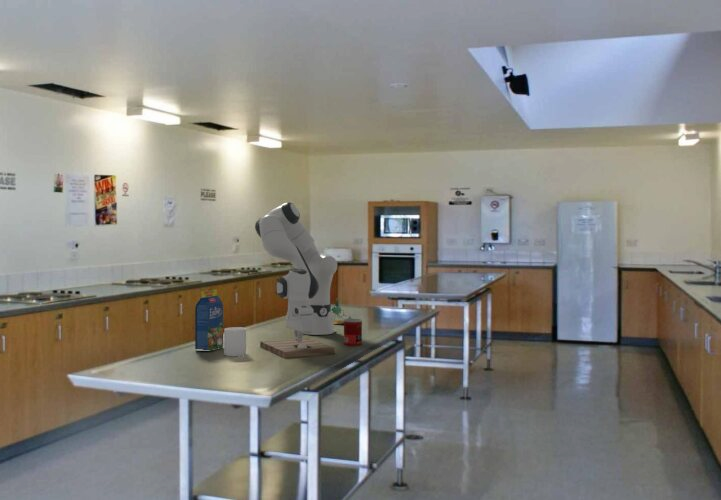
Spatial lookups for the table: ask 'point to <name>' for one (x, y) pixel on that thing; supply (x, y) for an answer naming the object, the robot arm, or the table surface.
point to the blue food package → (209, 321)
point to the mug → (235, 341)
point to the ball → (301, 346)
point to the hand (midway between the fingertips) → (298, 341)
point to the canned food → (352, 332)
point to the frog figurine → (337, 310)
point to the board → (290, 348)
